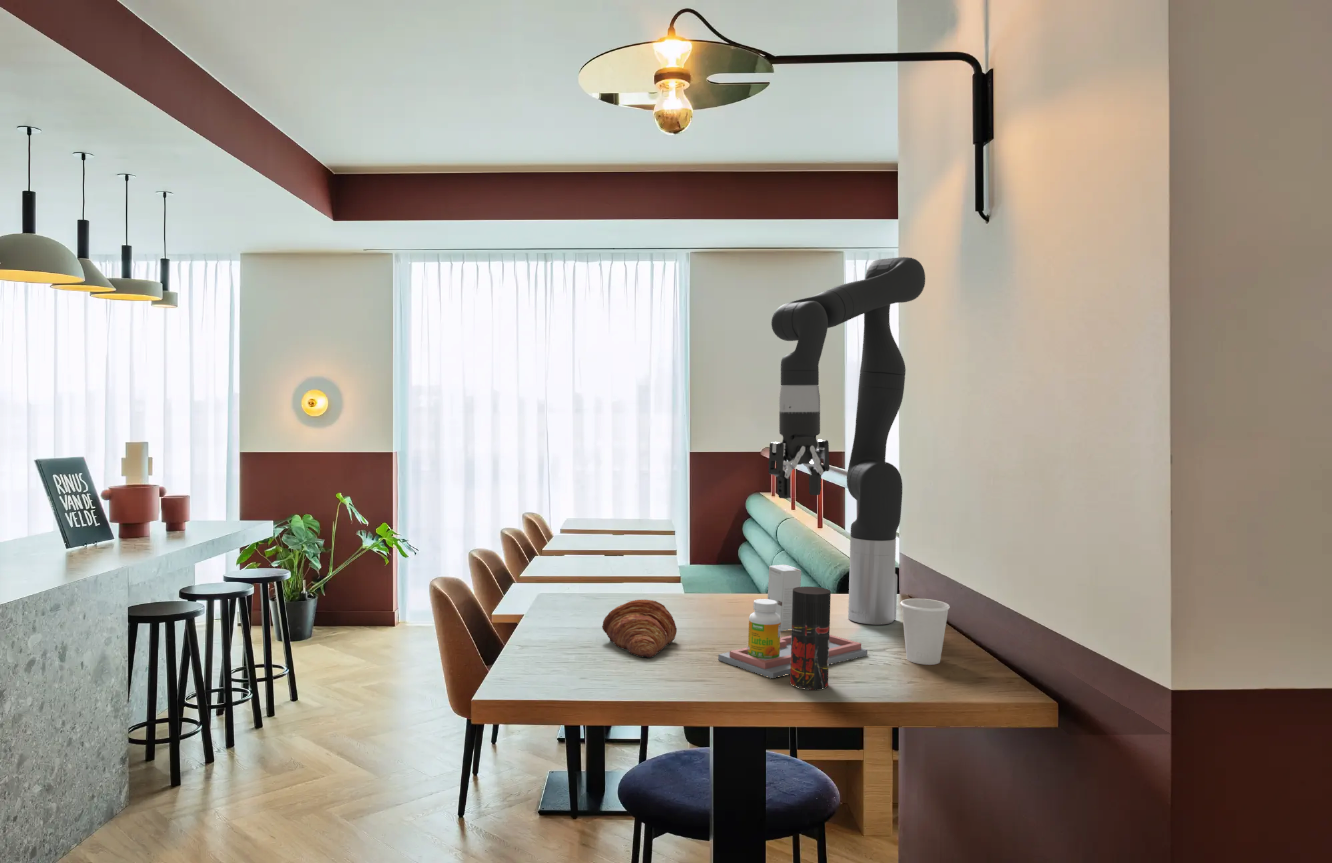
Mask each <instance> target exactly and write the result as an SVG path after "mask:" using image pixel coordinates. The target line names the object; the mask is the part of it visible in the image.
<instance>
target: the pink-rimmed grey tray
mask: <svg viewBox="0 0 1332 863" xmlns="http://www.w3.org/2000/svg"><path fill="white" fill-rule="evenodd" d="M866 655H867V656H868V649H866V648H862V643H861V642H857V641H854V640H851V639H848V638H847V639H846V638H843V637H841V636H836V635H833V634H829V664H831V663H835V664H837V663H836V662H839V661H843V662H846V661H845V660H847V659H851V660H854V659H853V658H855V659H857V658H856V657H859V658H862V657H866ZM717 657H718V661H720V662H723V663H725V664H729V665H731V666H734V667H736V666H738V667H737V668H739V667H740V668H739V669H742V668H743V670H745V669H746V670H745V671H748V670H750V671H749V672H751V673H754V672H755V674H756V673H757V674H756V675H759V674H762V675H764V676H763V677H765V676H768V677H770V678H769V679H771V678H776V677H778V676H783V675H785V674H790V669H791V635H787V636H782V637H781V636H780V656H779V658H774V659H770V660H766V661H765V660H762V659H759V658H756V657H753V656H750V655H748V646H747V647H743V648H738V649H737V648H736V649H733V650H729V651H728V652H723V653H718V656H717ZM847 661H848V660H847ZM839 663H840V662H839ZM831 665H832V664H831ZM762 675H761V676H762ZM768 677H767V678H768ZM776 679H777V678H776Z"/></svg>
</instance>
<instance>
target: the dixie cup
mask: <svg viewBox="0 0 1332 863" xmlns="http://www.w3.org/2000/svg"><path fill="white" fill-rule="evenodd" d="M900 606H901V611H902V612H901V614H902V622H903V623H902V624H903V625H902V626H903V634H904V646H905V655H906V657H905V658H906V660H907V661H909V662H910V663H914V664H918V665H927V666H928V665H929V666H931V665H937V664H940V663H941V658H942V651H943V646H944V639H945V633H946V632H945V631H946V627H947V626H946V625H947V620H948V613H949V609H950V608H951V607H950V604H948V603H947V602H944V601H941V600H936V599H930V598H906V599H903V600H901V601H900Z"/></svg>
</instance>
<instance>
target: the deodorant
mask: <svg viewBox="0 0 1332 863" xmlns="http://www.w3.org/2000/svg"><path fill="white" fill-rule="evenodd" d="M831 600H832V599H831V590H830V589H828V588H824V587H820V586H819V587H818V586H800V587H796V588H793V595H792V631H790V632H791V634H790V636H791V669H790V675H789V679H790V681H789V683H790V682H791V684H792V685H794V686H797V687H799V688H805V689H809V690H808V691H818V690H817V689H822V688H825V687H826V686H828V687H829V666H830V665H829V635H831V634H830V630H831V628H830V627H831ZM791 684H790V685H791ZM792 685H791V686H792ZM794 686H793V687H794ZM799 688H798V689H799ZM815 689H816V690H815ZM825 689H826V688H825ZM822 690H823V689H822Z"/></svg>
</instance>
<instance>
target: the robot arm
mask: <svg viewBox="0 0 1332 863" xmlns="http://www.w3.org/2000/svg"><path fill="white" fill-rule="evenodd" d="M925 285H926V273H925V268H924V267H923V265H922V263H921V262H920V260H917V259H916V258H913V257H908V256H907V257H905V256H903V257H902V256H901V257H890V258H879V259H875V260H874V261H872V262H871V263H870V264H868V268H867V269H866V273H865V277H864V279H859V280H856V281H852V282H847V283H841V284H840V285H837V286H834V287H831V288H829V289H826V290H823V291H822V292H819V293H817V294H815V295H811V296H808V297H804V298H799V299H796V300H792V301H790V302H786V303H784V304H783V303H782V304H781V305H780V306H779V307H778V308H777V309H776V310H775V311H774V312H773V313H772V314H773V315H772V316H771V317H772V318H771V323H770V324H771V329H772V331H773V334H774V335H775V336H776V337H777V338H779V339H781V340H783V341H787V342H795V341H797V343H796V347H795V349H794V351H792V352H790V353H788V354H785V355H784V356H783V357H782V358H781V360H780V390H779V391H780V392H779V397H778V398H779V400H778V402H779V403H778V404H779V405H778V406H779V408H778V409H779V411H778V414H779V419H778V420H779V421H778V424H779V427H778V428H779V429H778V430H779V435H781V436H782V441H771V442H770V443H769V449H768V450H769V451H768V452H769V453H768V474H769V475H772V476H775V477H776V479H777V481H776V482H777V484H776V485H777V495H778V498H779V499H784V500H785V499H786V500H787V499H790V496H791V495H790V494H791V490H790V489H791V488H790V487H791V486H790V485H791V483H790V482H791V480H790V476H791V474H792V472H793V470H794V469H796V468H797V466H798V465H803V466H804V467H806V469H807V471H808V472H809V474H810V475H809V474H808V492H809V495H810V496H820V495H821V490H822V475H823V474H824V473H825V472H829V471H830V469H831V468H830V450H829V449H830V448H829V447H830V446H829V444H830V443H829V440H827V439H817V436H819V435H820V434H821V394H820V388H819V387H820V386H819V382H820V380H819V375H820V374H819V373H820V372H819V370H820V369H819V363H820V360H821V356H822V354H823V348H824V345H825V341H826V337H827V333H828V329H830V328H834V327H837V326H839V325H841V324H844V323H846V322H849V321H850V320H852V319H854V318H856V317H859V316H861V315H863V335H862V336H863V339H862V352H861V362H860V369H859V376H858V377H859V380H858V390H857V393H858V394H857V405H856V415H855V428H854V437H853V444H852V449H851V453H850V456H849V457H850V458H849V463H848V469H847V474H846V487H847V491H848V493H849V494H850V495H851V497H852V498H853V499H855V501H858V502H859V504H858V515H857V517H856V519H855V520H854V521H853V522H852V523H851V525H850V542H849V577H848V580H849V582H848V589H849V590H848V607H847V608H848V610H847V612H848V615H847V617H848V619H849V620H850V621H851V622H855V623H859V624H864V625H874V626H875V625H888V624H889V625H890V624H892V623H894V620H897V600H898V598H897V596H898V574H897V573H896V549H897V548H896V546H897V530H898V528H899V527H900V524H901V517H902V516H901V515H902V502H903V479H902V475H901V474H900V473H901V472H900V470H899V469H898V468H897V467H896V466H894V465H893V464H892V463H890V462H887V461H886V455H887V454H886V453H887V443H888V437H889V434H890V431H891V428H892V426H893V423H894V422H895V419H896V417H897V415H898V412H899V410H900V408H901V405H902V402H903V398H904V392H905V382H906V381H905V380H906V370H907V369H906V365H905V364H906V363H905V361H904V358H903V355H902V352H901V351H900V349H899V346H898V345H897V343H896V341H895V339H894V336H893V334H892V331H891V324H890V311H891V310H890V309H891V305H892V304H896V303H897V304H898V303H900V304H901V303H907V302H908V303H909V302H912V301H914V300H916V299H917V298H919V297H920V295H922V293H923V291H924V288H925Z"/></svg>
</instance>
